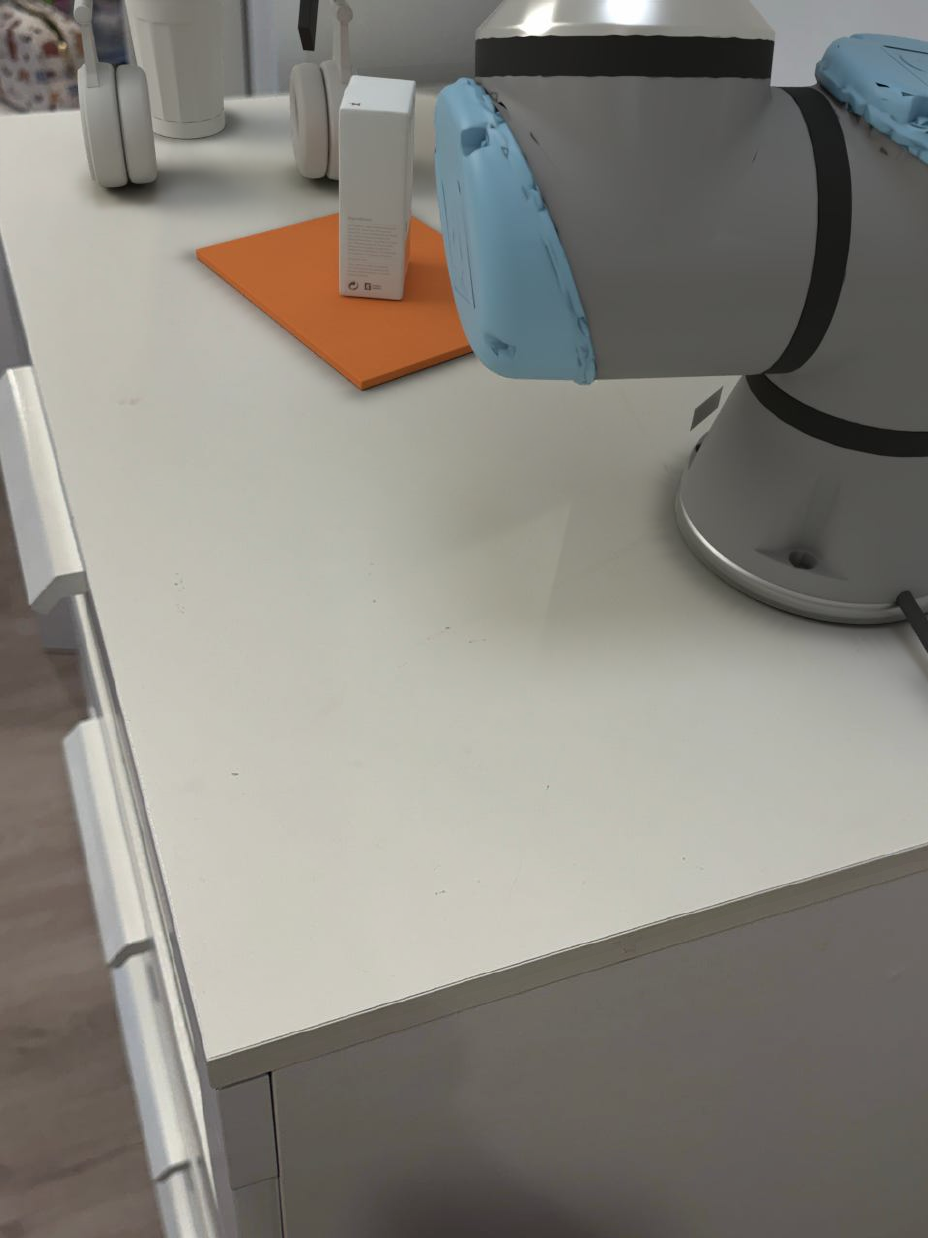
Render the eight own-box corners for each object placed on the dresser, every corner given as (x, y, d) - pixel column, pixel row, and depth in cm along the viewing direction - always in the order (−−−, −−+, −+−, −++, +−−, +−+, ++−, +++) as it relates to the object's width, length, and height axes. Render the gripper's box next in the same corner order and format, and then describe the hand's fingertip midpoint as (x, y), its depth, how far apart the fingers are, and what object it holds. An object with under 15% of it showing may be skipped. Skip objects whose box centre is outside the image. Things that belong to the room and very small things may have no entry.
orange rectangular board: (563, 320, 77) (564, 311, 77) (361, 390, 69) (361, 381, 69) (387, 207, 88) (387, 199, 88) (196, 257, 81) (195, 248, 80)
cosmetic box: (404, 302, 76) (409, 113, 68) (338, 297, 76) (336, 107, 68) (411, 260, 81) (417, 78, 73) (349, 255, 81) (348, 72, 73)
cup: (226, 145, 95) (214, -18, 87) (127, 138, 95) (105, -26, 87) (242, 109, 101) (232, -47, 93) (149, 103, 101) (130, -55, 92)
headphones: (92, 205, 85) (43, -105, 72) (93, 163, 91) (49, -130, 78) (366, 196, 89) (366, -100, 76) (350, 156, 95) (347, -123, 82)
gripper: (617, -209, 81) (594, 91, 80) (256, -238, 81) (230, 62, 80) (633, -299, 74) (609, 31, 73) (236, -331, 73) (206, -1, 73)
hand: (410, 48), depth 76 cm, fingers open, 13 cm apart
